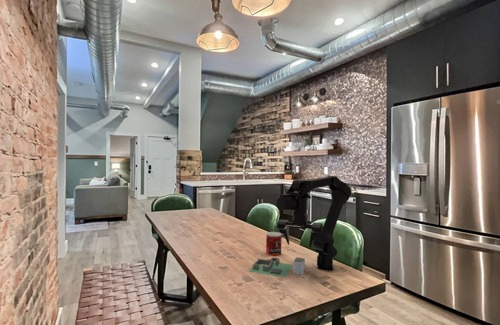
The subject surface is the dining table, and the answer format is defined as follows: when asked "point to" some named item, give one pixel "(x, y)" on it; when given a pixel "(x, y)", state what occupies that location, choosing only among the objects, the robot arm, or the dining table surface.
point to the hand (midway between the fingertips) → (299, 245)
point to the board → (274, 268)
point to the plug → (299, 266)
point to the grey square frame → (262, 261)
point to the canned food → (273, 243)
